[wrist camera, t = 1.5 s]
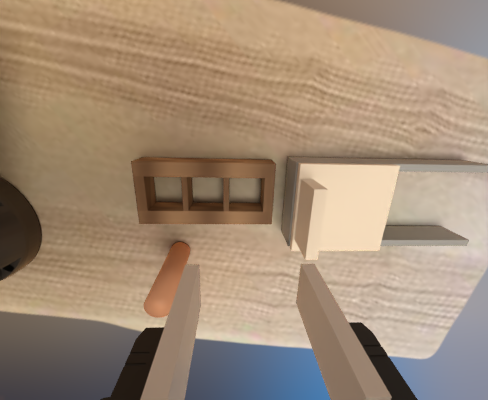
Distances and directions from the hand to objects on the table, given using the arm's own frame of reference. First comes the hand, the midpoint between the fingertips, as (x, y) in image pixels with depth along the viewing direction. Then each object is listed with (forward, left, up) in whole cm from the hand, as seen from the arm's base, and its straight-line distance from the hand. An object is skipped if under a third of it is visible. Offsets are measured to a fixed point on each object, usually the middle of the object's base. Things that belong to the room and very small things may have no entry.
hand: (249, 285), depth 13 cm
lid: (+11, 0, -13) cm, 17 cm away
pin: (-8, -8, -17) cm, 20 cm away
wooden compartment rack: (-4, +1, -17) cm, 17 cm away
